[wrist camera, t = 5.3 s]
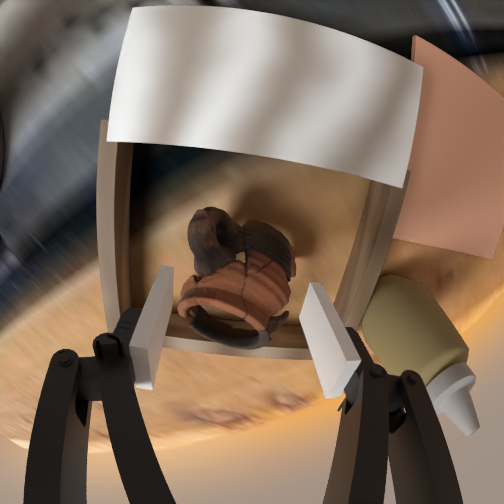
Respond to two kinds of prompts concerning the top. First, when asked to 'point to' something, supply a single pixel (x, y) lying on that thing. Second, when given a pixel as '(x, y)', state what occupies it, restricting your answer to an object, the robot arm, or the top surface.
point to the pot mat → (454, 159)
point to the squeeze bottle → (421, 345)
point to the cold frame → (257, 133)
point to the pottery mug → (237, 278)
